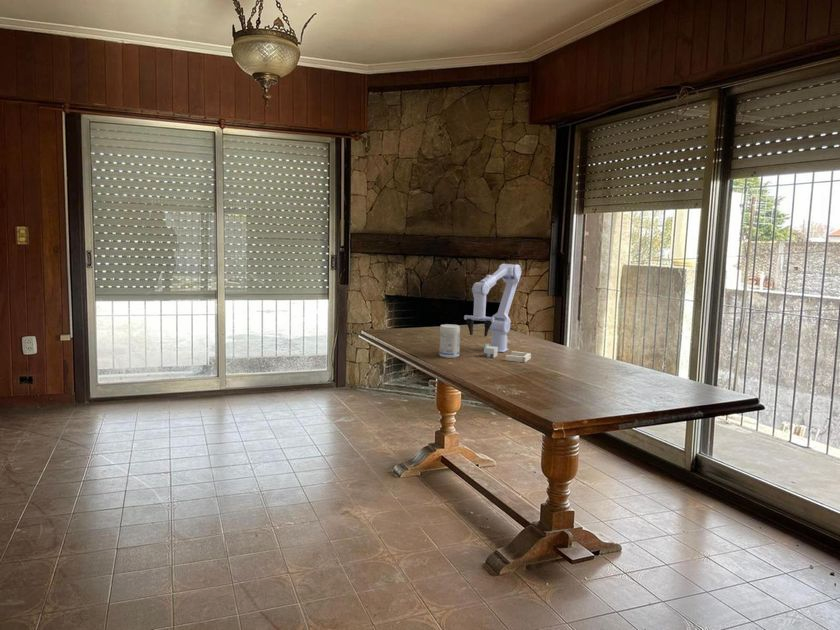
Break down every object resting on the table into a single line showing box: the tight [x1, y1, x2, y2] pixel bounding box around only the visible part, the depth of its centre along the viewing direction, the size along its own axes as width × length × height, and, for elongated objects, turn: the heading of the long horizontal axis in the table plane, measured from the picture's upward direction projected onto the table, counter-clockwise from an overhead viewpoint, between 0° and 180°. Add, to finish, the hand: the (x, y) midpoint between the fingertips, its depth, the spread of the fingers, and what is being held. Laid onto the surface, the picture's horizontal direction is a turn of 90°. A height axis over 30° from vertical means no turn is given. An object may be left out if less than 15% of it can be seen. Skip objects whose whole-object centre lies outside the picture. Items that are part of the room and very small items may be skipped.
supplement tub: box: [438, 323, 461, 359], centre depth 300 cm, size 10×10×15 cm
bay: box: [505, 350, 532, 363], centre depth 299 cm, size 11×9×2 cm
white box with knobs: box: [482, 343, 499, 359], centre depth 304 cm, size 7×5×6 cm
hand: (478, 335), depth 306 cm, fingers open, 7 cm apart
